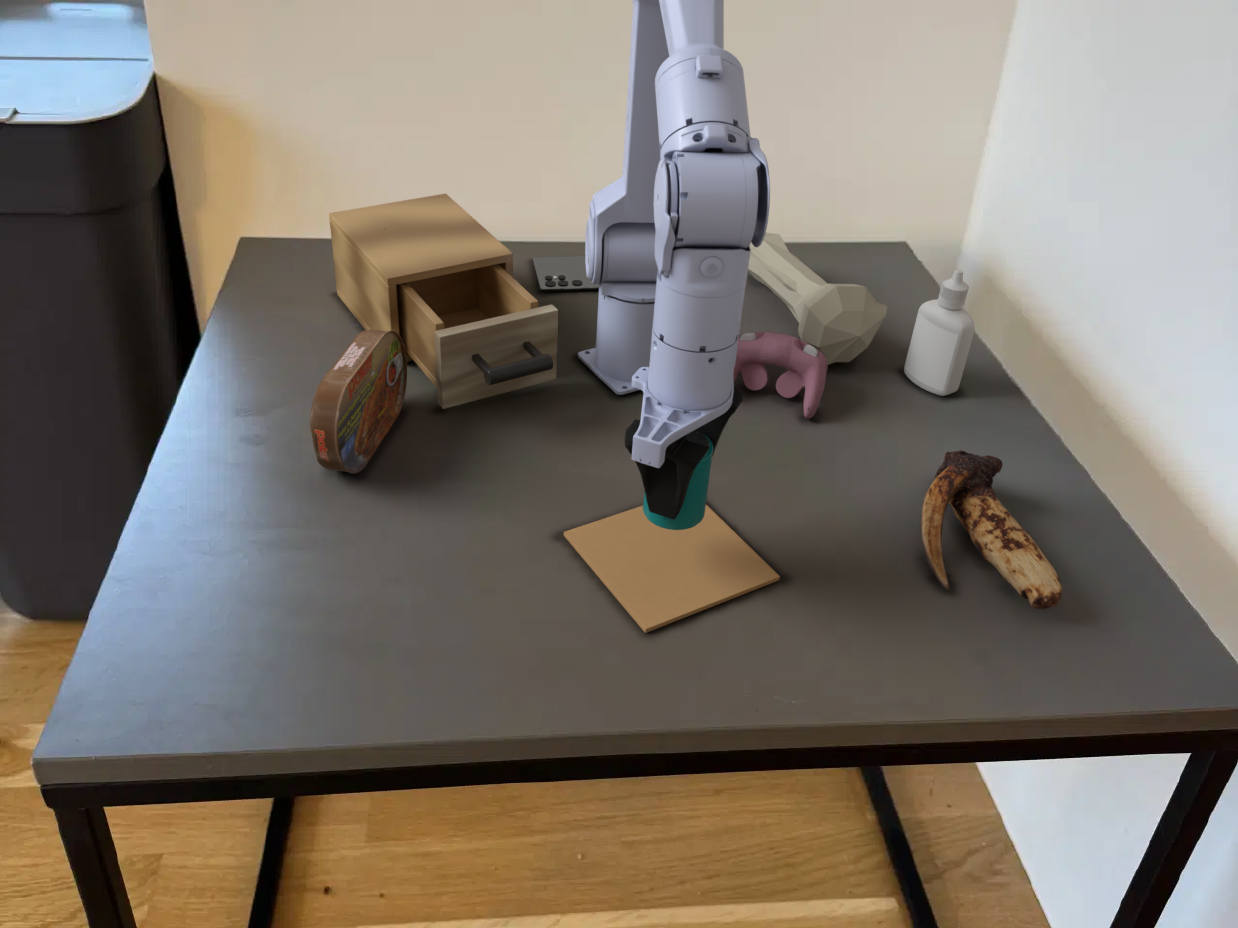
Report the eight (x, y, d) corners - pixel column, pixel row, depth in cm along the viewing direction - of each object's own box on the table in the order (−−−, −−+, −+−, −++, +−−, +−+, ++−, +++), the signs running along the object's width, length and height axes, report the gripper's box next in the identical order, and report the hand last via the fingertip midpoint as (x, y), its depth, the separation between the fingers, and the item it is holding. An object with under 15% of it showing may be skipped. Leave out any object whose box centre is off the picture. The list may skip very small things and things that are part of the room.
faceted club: (802, 377, 105) (705, 271, 125) (874, 388, 109) (769, 284, 129) (838, 293, 101) (732, 198, 121) (912, 307, 105) (797, 212, 124)
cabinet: (513, 337, 110) (513, 253, 105) (393, 365, 105) (387, 278, 99) (448, 272, 121) (445, 193, 115) (337, 294, 115) (328, 213, 110)
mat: (690, 492, 91) (691, 489, 91) (779, 580, 83) (780, 576, 83) (563, 535, 86) (563, 531, 86) (645, 633, 78) (645, 629, 78)
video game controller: (819, 417, 104) (836, 344, 103) (814, 421, 100) (832, 345, 99) (718, 394, 107) (734, 322, 105) (709, 397, 102) (725, 322, 101)
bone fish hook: (873, 487, 94) (964, 633, 80) (882, 441, 92) (977, 584, 77) (975, 477, 96) (1082, 619, 81) (987, 432, 93) (1100, 570, 79)
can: (657, 484, 84) (664, 417, 81) (713, 502, 83) (722, 434, 79) (632, 518, 81) (638, 449, 77) (691, 537, 79) (699, 468, 76)
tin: (347, 494, 89) (337, 406, 84) (310, 487, 89) (298, 400, 84) (412, 396, 101) (407, 314, 96) (380, 391, 101) (373, 309, 96)
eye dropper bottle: (917, 398, 105) (946, 285, 98) (899, 367, 110) (926, 257, 103) (961, 398, 106) (993, 285, 99) (941, 367, 110) (971, 257, 103)
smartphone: (686, 284, 121) (541, 287, 118) (686, 289, 121) (540, 291, 118) (671, 253, 127) (532, 255, 124) (670, 258, 127) (532, 259, 124)
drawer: (578, 401, 100) (581, 331, 95) (462, 433, 95) (460, 360, 90) (488, 311, 112) (487, 245, 108) (381, 334, 107) (376, 266, 103)
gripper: (680, 273, 80) (664, 428, 88) (593, 364, 69) (584, 532, 77) (773, 297, 77) (748, 454, 85) (699, 395, 67) (678, 564, 75)
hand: (677, 493), depth 81 cm, fingers closed on can, 4 cm apart
